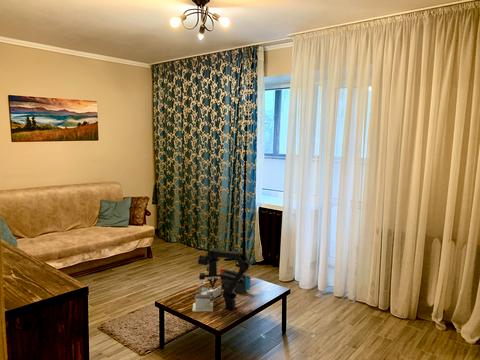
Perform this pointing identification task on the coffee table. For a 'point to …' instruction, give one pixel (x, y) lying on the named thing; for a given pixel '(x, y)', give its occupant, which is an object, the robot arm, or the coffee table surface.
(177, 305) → the coffee table surface
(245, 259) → the robot arm
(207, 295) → the strap
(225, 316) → the coffee table surface
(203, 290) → the toy car
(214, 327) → the coffee table surface
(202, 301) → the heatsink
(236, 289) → the game console
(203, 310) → the board
